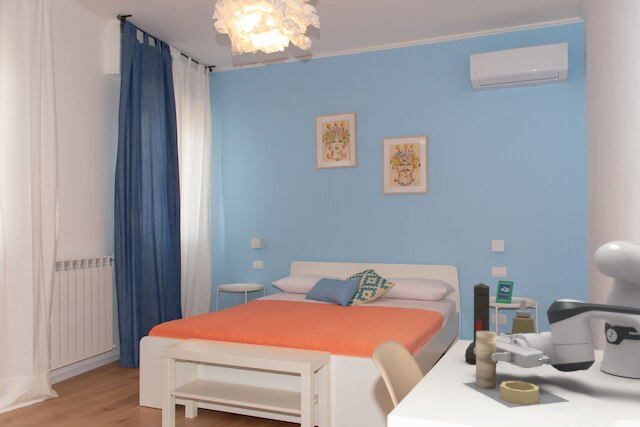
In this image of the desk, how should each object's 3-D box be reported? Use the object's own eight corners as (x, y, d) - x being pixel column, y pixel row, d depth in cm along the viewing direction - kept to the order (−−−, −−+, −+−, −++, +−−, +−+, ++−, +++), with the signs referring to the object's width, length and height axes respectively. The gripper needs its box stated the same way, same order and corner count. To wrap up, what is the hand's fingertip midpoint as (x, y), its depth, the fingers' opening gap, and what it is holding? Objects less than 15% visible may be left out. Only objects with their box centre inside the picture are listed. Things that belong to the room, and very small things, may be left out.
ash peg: (488, 382, 146) (488, 330, 146) (500, 388, 141) (500, 333, 142) (472, 384, 145) (472, 331, 145) (483, 389, 140) (483, 334, 140)
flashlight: (471, 357, 178) (460, 363, 170) (471, 280, 179) (460, 283, 171) (502, 362, 173) (492, 368, 165) (502, 282, 173) (492, 285, 165)
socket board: (516, 382, 150) (516, 367, 151) (569, 405, 131) (569, 388, 131) (462, 387, 146) (462, 372, 146) (509, 411, 126) (509, 394, 126)
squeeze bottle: (538, 357, 179) (538, 302, 180) (512, 355, 181) (512, 301, 181) (533, 351, 187) (533, 299, 188) (509, 350, 189) (509, 298, 189)
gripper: (554, 371, 138) (510, 376, 133) (500, 353, 157) (460, 357, 152) (554, 346, 138) (510, 350, 133) (500, 331, 157) (460, 334, 152)
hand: (483, 354), depth 143 cm, fingers closed on ash peg, 5 cm apart
